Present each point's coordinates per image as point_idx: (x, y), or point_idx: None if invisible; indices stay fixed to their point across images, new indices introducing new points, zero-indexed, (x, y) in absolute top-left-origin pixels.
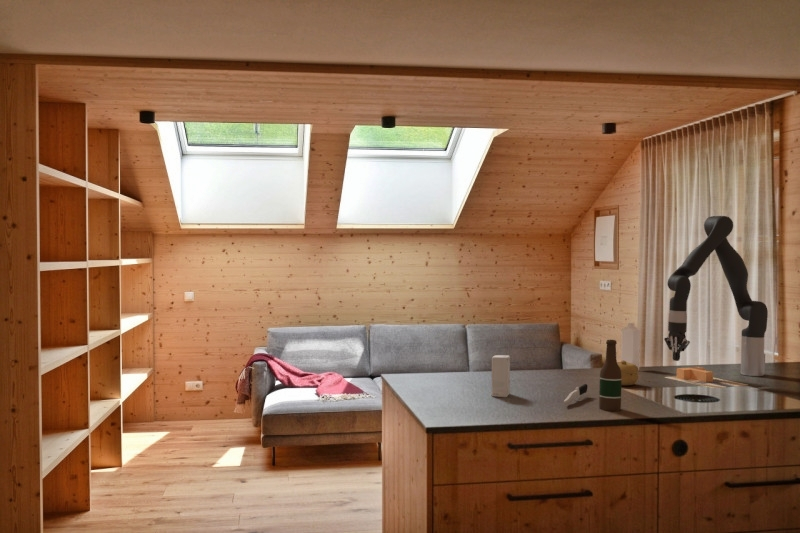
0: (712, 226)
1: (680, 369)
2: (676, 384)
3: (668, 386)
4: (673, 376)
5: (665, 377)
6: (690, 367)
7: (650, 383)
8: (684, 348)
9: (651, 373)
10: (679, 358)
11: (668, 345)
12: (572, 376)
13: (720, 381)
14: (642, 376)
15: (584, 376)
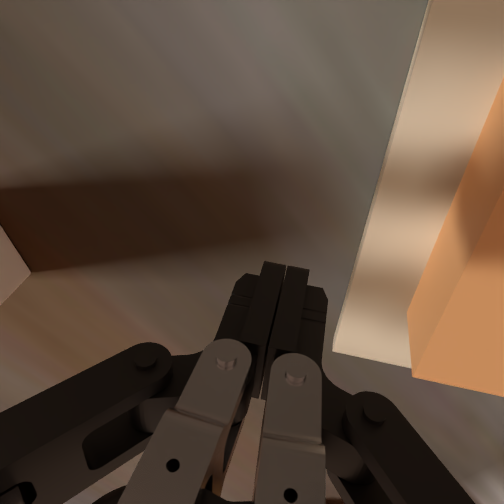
0: None
1: (463, 386)
2: (494, 411)
3: (488, 472)
4: (352, 281)
5: (345, 353)
6: (487, 229)
7: None
8: (422, 471)
9: (97, 205)
10: (325, 306)
11: (98, 454)
12: (93, 497)
13: None
14: (182, 340)
15: (103, 480)
